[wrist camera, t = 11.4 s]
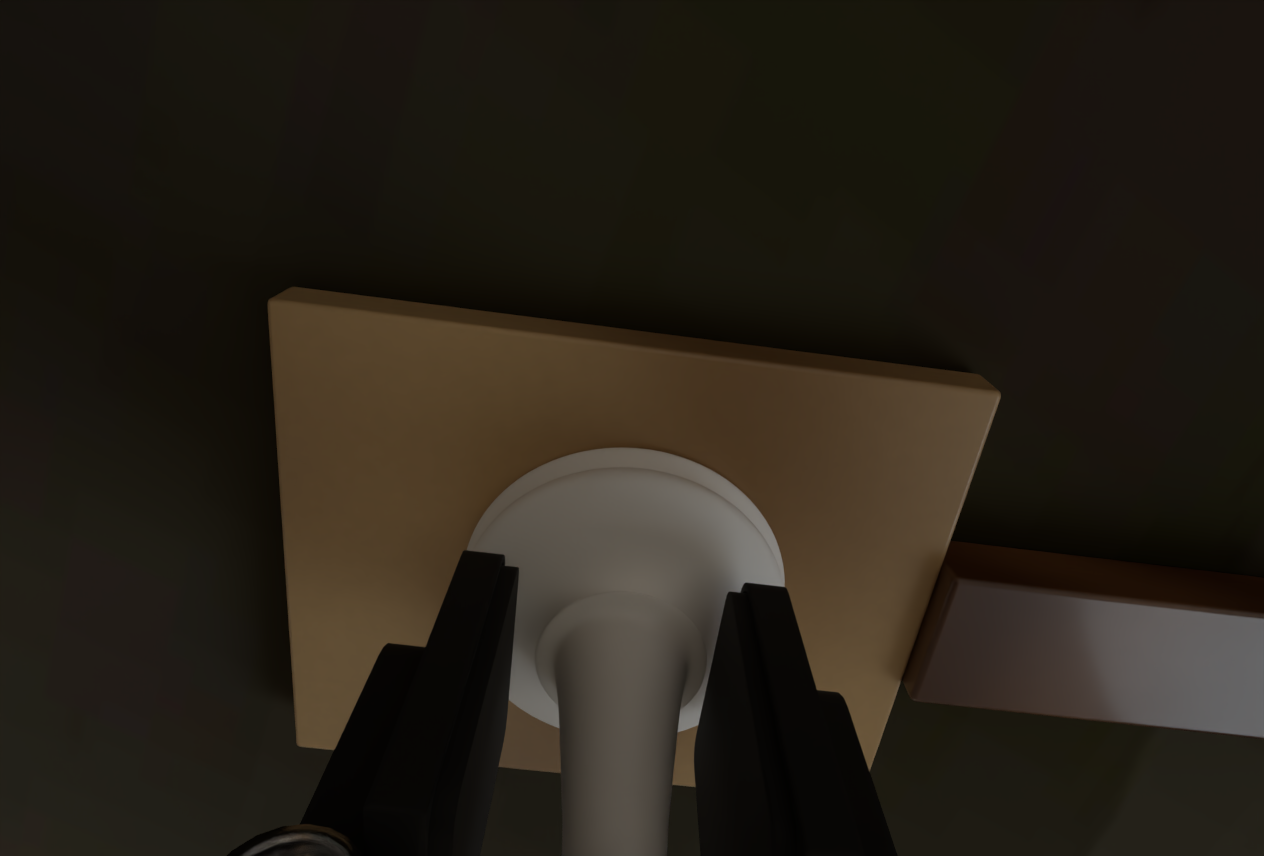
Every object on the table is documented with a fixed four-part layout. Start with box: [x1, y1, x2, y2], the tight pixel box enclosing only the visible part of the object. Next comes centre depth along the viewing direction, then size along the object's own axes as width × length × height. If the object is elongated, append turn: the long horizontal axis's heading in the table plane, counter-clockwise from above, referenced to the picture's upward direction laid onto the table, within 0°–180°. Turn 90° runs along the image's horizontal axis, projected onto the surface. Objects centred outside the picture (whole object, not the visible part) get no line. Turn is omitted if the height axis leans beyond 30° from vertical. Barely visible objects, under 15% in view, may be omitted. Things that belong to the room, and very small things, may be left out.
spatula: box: [268, 287, 1264, 787], centre depth 12 cm, size 20×8×1 cm, turn 83°
